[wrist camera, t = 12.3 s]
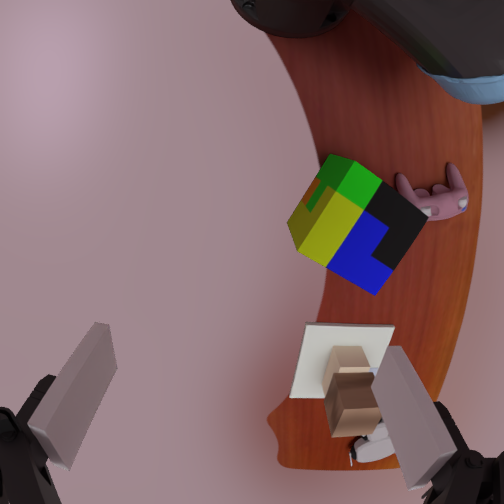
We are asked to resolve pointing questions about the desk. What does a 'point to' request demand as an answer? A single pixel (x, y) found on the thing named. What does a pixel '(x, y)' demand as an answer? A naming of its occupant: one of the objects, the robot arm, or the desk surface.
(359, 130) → the desk surface
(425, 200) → the video game controller
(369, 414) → the walnut block
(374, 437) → the robot toy
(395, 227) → the puzzle toy
